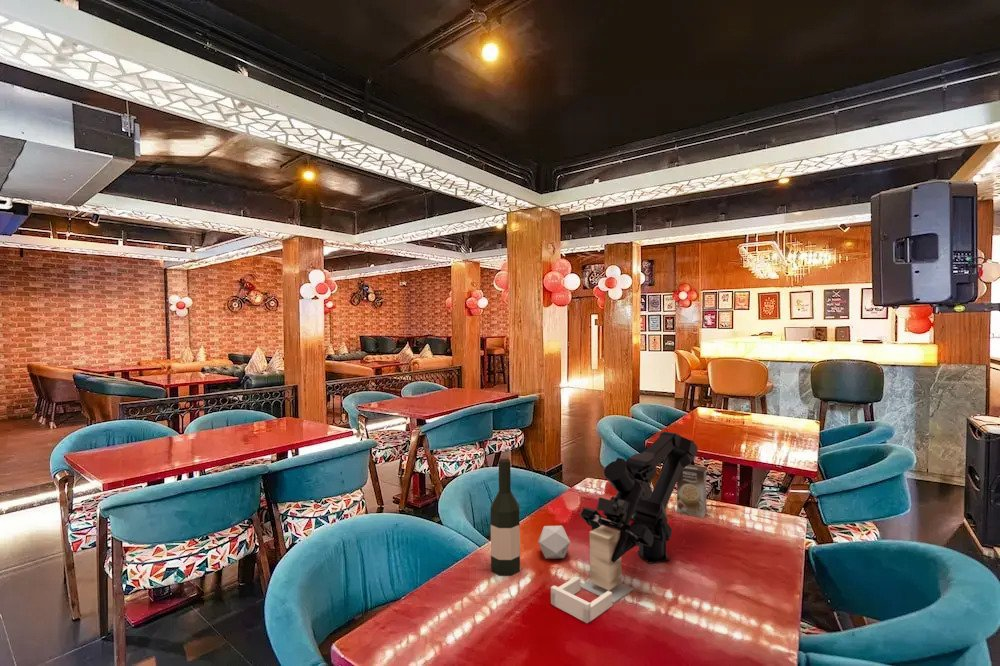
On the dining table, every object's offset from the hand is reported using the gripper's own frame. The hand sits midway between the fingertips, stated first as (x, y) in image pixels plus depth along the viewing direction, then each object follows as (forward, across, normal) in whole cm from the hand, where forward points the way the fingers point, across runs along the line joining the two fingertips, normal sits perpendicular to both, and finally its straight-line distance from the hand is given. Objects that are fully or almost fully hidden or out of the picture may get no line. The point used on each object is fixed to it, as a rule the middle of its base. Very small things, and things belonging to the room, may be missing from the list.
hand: (602, 557), depth 117 cm
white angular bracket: (+12, 0, 0) cm, 12 cm away
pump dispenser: (-28, -18, +40) cm, 51 cm away
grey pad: (+5, 0, +7) cm, 8 cm away
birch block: (+4, 0, +6) cm, 7 cm away
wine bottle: (+12, -25, -1) cm, 28 cm away
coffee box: (-39, -7, +52) cm, 66 cm away
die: (+2, -20, +10) cm, 23 cm away
